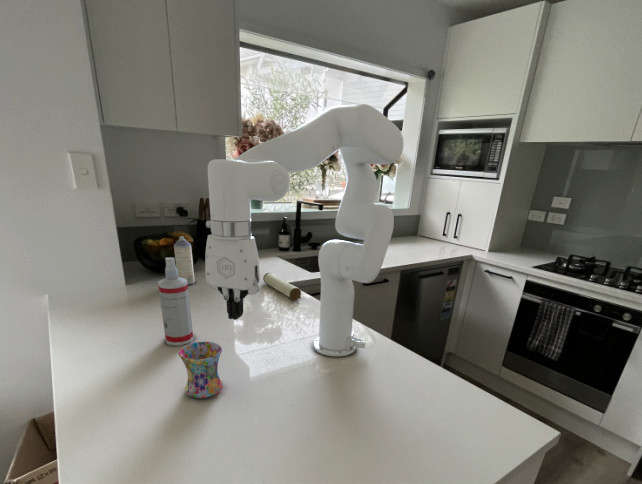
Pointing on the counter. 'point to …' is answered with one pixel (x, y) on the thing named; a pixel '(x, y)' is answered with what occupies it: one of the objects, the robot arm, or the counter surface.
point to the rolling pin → (282, 286)
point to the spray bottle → (175, 306)
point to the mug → (202, 368)
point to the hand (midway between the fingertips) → (235, 317)
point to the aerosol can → (184, 260)
